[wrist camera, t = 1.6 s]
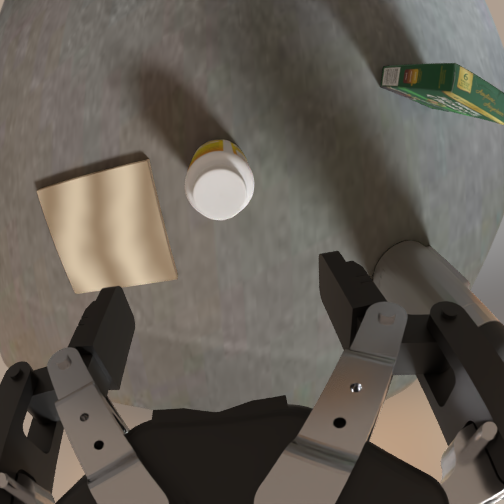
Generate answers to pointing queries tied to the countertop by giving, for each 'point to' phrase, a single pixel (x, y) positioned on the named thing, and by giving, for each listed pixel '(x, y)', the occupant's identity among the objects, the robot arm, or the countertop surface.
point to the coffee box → (446, 89)
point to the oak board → (109, 228)
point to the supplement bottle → (219, 180)
